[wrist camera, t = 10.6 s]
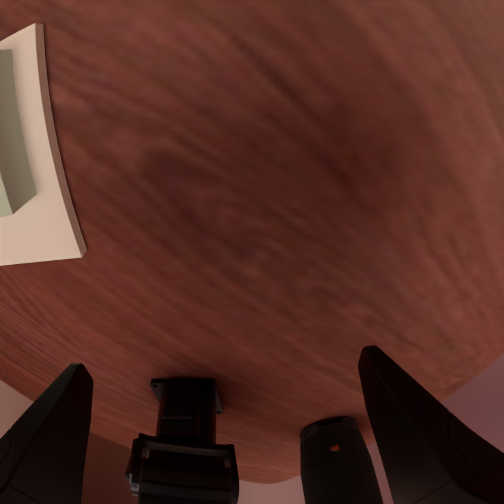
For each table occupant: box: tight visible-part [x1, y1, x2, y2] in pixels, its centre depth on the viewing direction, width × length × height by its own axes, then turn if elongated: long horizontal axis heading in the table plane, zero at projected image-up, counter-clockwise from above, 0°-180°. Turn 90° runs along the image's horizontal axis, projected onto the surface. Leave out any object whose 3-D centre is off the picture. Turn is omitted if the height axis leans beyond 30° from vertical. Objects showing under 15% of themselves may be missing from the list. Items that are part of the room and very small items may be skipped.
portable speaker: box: [300, 417, 383, 504], centre depth 28 cm, size 9×9×20 cm
